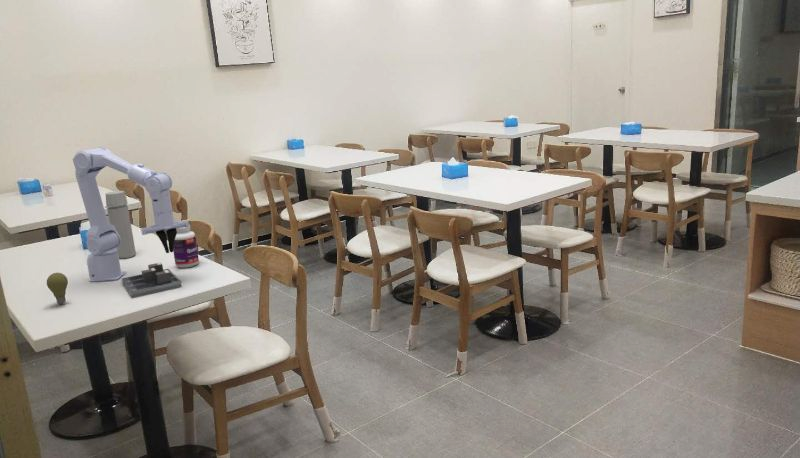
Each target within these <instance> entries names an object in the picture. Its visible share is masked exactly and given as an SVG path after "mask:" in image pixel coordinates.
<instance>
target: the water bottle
mask: <svg viewBox="0 0 800 458" xmlns="http://www.w3.org/2000/svg"><path fill="white" fill-rule="evenodd" d="M105 203H106V204H105V205H106V206H104V209H106V211H107V215H108V223H109V224H111V225H113V226H115V229H116V231H117V233H118V234H119V236H120V238H121V243H120V245H119V246H118V248H119V249H118V250H117V251H118V257H119V260H121V259H122V260H123V259H124V260H125V259H129V258H132V257H135V255H136V254H137V251H136V247H135V239H134V235H133V229H132V223H131V216H130V212H129V206H128V204H129V202H128V199H127V195H126V192H125V191H124V190H114V191H108V192H106V193H105Z"/></svg>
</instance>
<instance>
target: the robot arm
mask: <svg viewBox="0 0 800 458" xmlns="http://www.w3.org/2000/svg"><path fill="white" fill-rule="evenodd" d="M72 162H73V165H74V169H75V178H76V179H75V180H76V181H77V185H78V189H79V192H80V195H81V198H82V203H83V206H84V209H85V211H86V212H85V213H86V215H87V220H88V221H89V225H90V226H89V229H88V230H87V232H86V234H85V237H86V247H87V250H88V251H89V254H88V255H87V258H86V265H87V270H88V275H89V281H88V282H90V283H91V282H102V281H104V282H105V281H106V282H107V281H118V280H119V279H120V278H122V277H123V276H124V275H125V274H127V271H122V269H121V263H120V259H119V257H118V251H117V250H118V249H119V248H118V246H119V245H120V243H121V238H120V236H119V234H118V233H117V231H116V229H115V226H113V225H111V224H110V222H109V219H108V218H107V214H106V210H105V206H104V203H103V201H102V196H101V193H100V189H99V186H98V183H97V179H96V177H97V176H98V174H99V173H100V172H101V171H102V170H103V169H105V168H107V167H109V168H110V169H112V170H113V169H114V170H116V171H118V172H121V173H123V174H125V175H127V178H128V179H129V180H130V181H132V182H134V183H136V184H138V185H140V186H142V187H144V188H145V190H146V192H147V193H148V194H149V198H150V200H151V206H152V210H153V211H152V212H153V218H154V225H150V226H146V227H141V228H140V232H141V235H142V236H146V235H150V234H156V235H157V237H158V239H159V240H160V242H161V244H162V246H163V248H164V251H165V254H169V253H174V252H173V245H174V240H175V237H176V234H177V230H176V229H178V228H184V227H189V225H190V223H189V221H188V220H187V219H186V220H180V221H175V220H174V219H175V217H174V213H173V212H174V211H173V208H172V207H173V206H172V205H173V204H172V200H171V193H170V189H171V188H172V186H173V179H172V178H171V177H170V175H168V174H167V173H166V172H160V173H159V172H157V171H156V170H154V169H153V170H152V169H149V168H148V167H146V166H145V165H144V164H143V163H135V164H131V163H130V162H129V161H126V160H124V159H123V158H121V157H119V156H117V155H116V154H114V153H113V152H112V151H111V149H106V148H105V147H103V146H99V147H97V148H92V149H85V150H79V151H77V152H76V153H75V155H74V157H72Z"/></svg>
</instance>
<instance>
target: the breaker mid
mask: <svg viewBox="0 0 800 458" xmlns="http://www.w3.org/2000/svg"><path fill="white" fill-rule="evenodd" d="M155 273H157V270H156V269H155V268H151V269H149V268H148V269H144V270H141V274H142V275H143V281H144V283H148V282H153V281H156V275H155Z"/></svg>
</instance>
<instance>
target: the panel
mask: <svg viewBox="0 0 800 458" xmlns="http://www.w3.org/2000/svg"><path fill="white" fill-rule="evenodd" d="M164 270H168V271H169V272H170V275H171V281H172V282H171V283H167V284H162V285H157V281H153V282H148V283H144V281H143V275H142V273H140V274H137V275H131V276H127V277H126V276H125V277H120V278H121V284H122V286H123V287H124V288H125V290H126V291H127V293H128V295H129V296H130V297H131V299H134V298H138V297H139V298H140V297H142V296H148V295H152V294H157V293H161V292H165V291H169V290H174V289H179V288H182V281H181V280H180V279H179V277H178V276H176V274H175V273H173V272H172V270H170V268H166V269H164V268H163V271H164Z"/></svg>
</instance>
